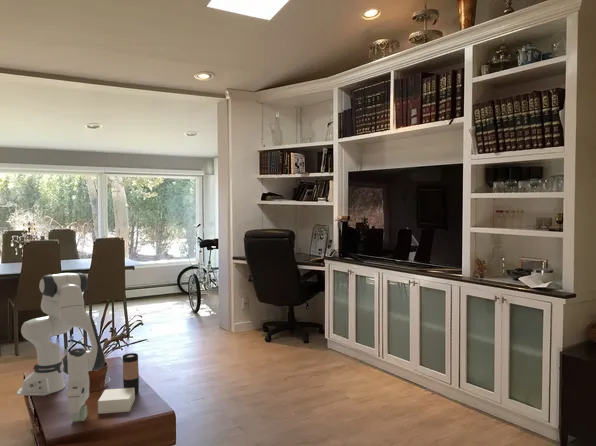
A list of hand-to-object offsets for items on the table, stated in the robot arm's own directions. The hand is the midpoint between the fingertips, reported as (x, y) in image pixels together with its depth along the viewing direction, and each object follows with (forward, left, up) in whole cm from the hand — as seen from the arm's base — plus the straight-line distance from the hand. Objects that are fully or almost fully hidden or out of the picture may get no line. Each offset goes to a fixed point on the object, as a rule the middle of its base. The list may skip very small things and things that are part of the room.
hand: (79, 415), depth 223 cm
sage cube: (0, 0, -2) cm, 2 cm away
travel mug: (+18, +26, -2) cm, 32 cm away
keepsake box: (+14, +11, -2) cm, 18 cm away
